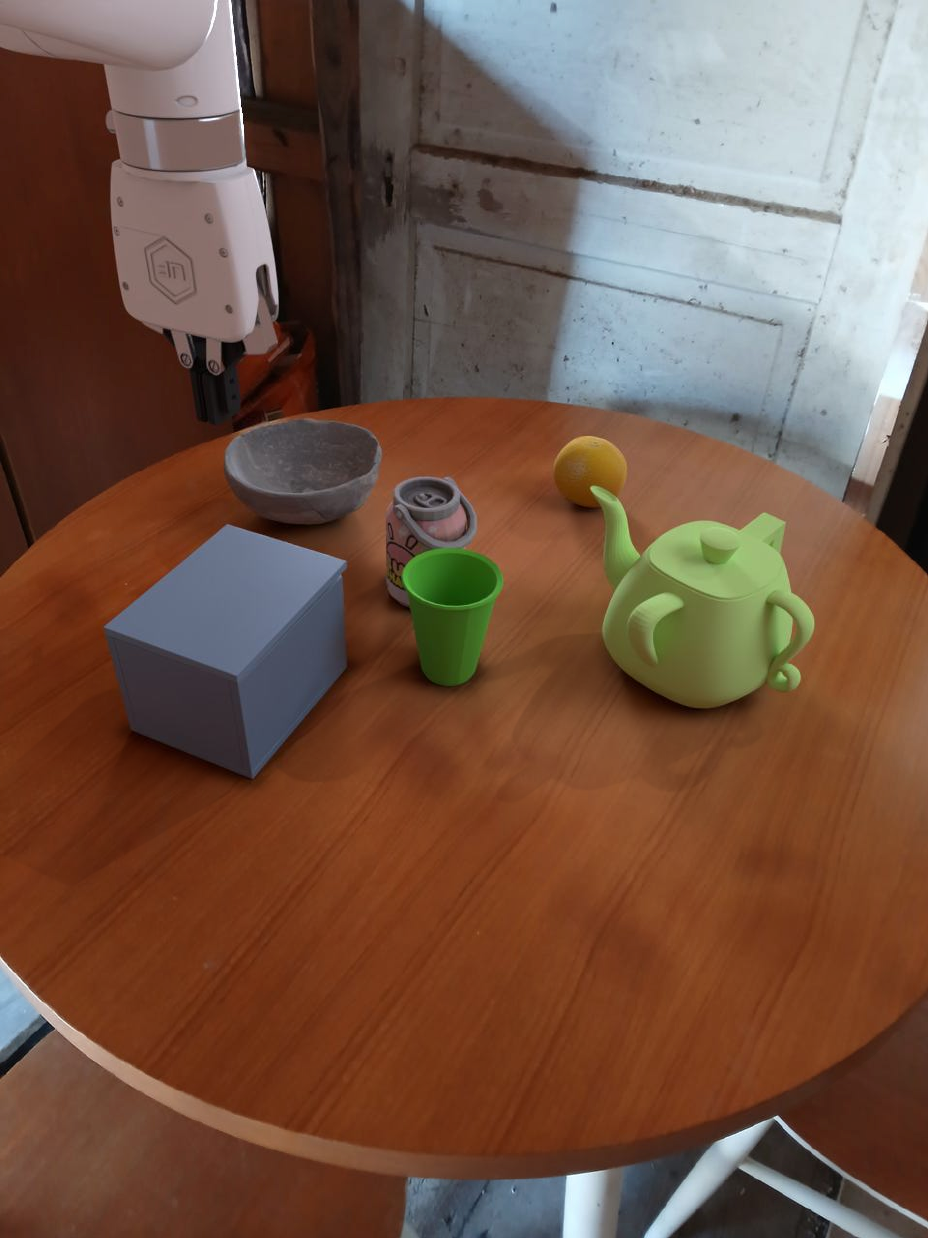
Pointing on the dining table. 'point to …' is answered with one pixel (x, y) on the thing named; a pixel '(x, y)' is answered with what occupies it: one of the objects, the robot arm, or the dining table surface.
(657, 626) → the teapot
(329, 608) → the chest
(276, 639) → the lid
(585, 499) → the fruit
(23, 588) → the dining table surface
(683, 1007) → the dining table surface
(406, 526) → the beverage can
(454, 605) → the cup
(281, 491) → the bowl
